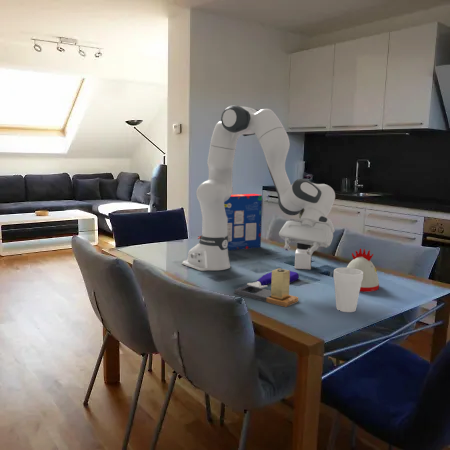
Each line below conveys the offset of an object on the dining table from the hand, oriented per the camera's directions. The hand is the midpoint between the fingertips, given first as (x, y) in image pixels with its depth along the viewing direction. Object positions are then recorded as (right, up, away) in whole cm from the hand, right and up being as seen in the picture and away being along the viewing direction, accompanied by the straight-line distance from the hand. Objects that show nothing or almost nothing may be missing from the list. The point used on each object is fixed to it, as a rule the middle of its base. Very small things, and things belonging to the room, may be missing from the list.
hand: (297, 251), depth 167 cm
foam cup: (+14, -19, -13) cm, 27 cm away
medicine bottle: (+9, -9, +40) cm, 42 cm away
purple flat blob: (-7, -14, +16) cm, 23 cm away
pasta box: (-21, -3, +77) cm, 80 cm away
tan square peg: (-7, -17, -6) cm, 19 cm away
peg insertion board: (-12, -16, -2) cm, 20 cm away
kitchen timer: (+27, -14, +13) cm, 33 cm away
